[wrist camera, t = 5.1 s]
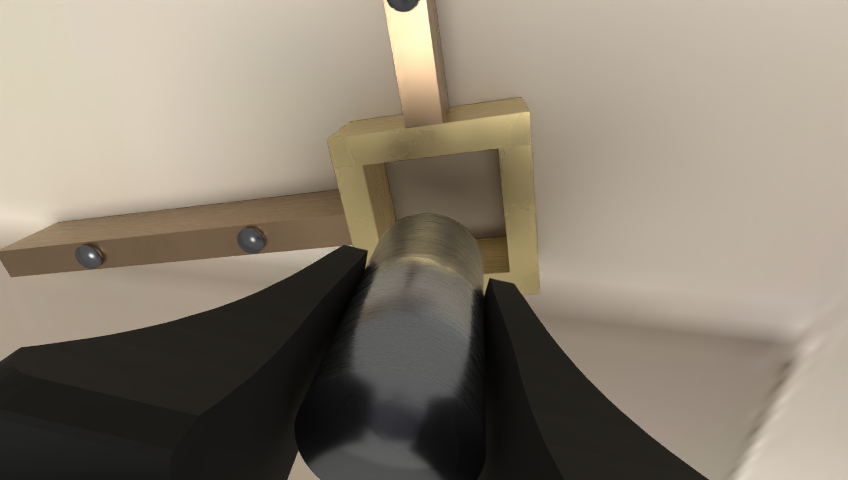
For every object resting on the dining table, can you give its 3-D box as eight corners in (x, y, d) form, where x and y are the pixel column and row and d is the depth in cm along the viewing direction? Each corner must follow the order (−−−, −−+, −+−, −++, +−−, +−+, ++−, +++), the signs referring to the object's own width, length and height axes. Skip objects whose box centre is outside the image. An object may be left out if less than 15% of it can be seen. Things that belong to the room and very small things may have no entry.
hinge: (531, 255, 19) (540, 297, 16) (94, 292, 23) (38, 331, 20) (477, -589, 10) (475, -832, 7) (-226, -304, 14) (-412, -391, 11)
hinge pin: (485, 309, 13) (488, 514, 7) (382, 310, 13) (313, 505, 8) (481, 211, 12) (482, 371, 6) (367, 215, 12) (275, 369, 7)
